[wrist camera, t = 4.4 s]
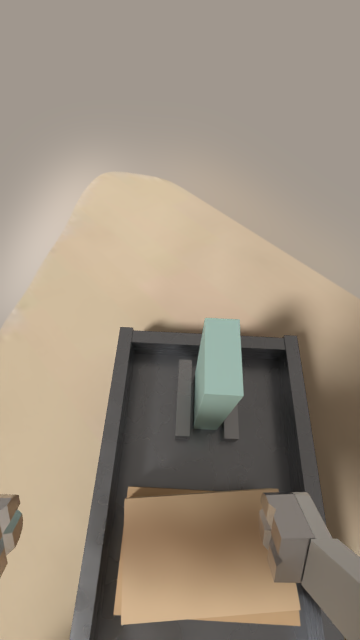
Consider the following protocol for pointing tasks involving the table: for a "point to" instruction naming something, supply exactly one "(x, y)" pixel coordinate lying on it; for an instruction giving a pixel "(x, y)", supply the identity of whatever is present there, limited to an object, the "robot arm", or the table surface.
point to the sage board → (217, 373)
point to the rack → (194, 468)
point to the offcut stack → (198, 560)
